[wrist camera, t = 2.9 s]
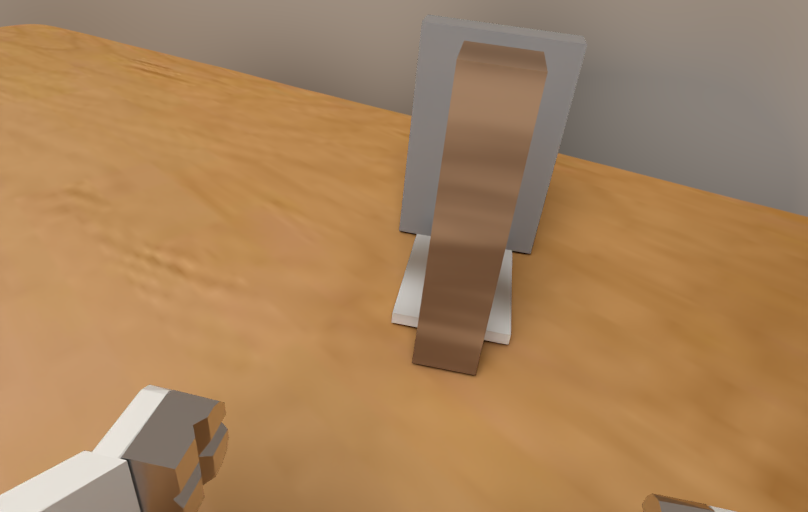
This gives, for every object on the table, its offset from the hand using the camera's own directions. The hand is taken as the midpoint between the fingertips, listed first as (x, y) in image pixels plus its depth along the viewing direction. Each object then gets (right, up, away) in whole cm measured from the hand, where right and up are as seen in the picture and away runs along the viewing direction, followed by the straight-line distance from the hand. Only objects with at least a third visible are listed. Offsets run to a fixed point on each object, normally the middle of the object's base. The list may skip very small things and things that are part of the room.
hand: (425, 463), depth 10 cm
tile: (+3, +5, +23) cm, 24 cm away
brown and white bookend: (+2, +2, +17) cm, 18 cm away
